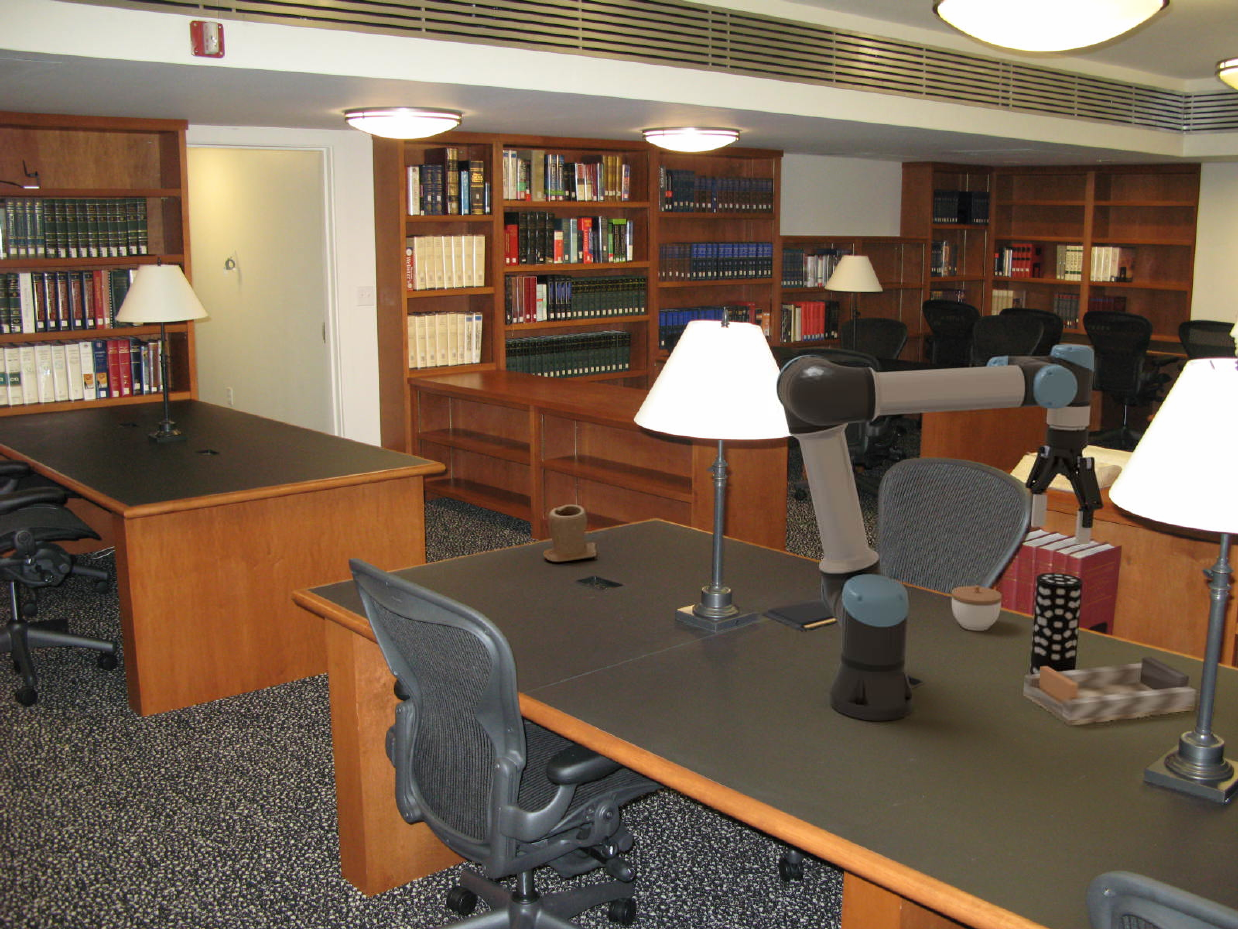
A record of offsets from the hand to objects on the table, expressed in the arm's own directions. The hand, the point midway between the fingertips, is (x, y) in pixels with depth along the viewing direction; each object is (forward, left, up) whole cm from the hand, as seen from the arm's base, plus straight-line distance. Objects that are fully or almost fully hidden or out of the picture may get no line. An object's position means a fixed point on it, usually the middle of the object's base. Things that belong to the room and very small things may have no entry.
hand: (1059, 534), depth 215 cm
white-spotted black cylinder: (0, -1, -29) cm, 29 cm away
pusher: (-9, -15, -27) cm, 32 cm away
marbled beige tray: (+2, -15, -29) cm, 32 cm away
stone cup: (-76, +104, -29) cm, 132 cm away
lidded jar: (+1, +29, -29) cm, 41 cm away
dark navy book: (-31, +45, -29) cm, 62 cm away
